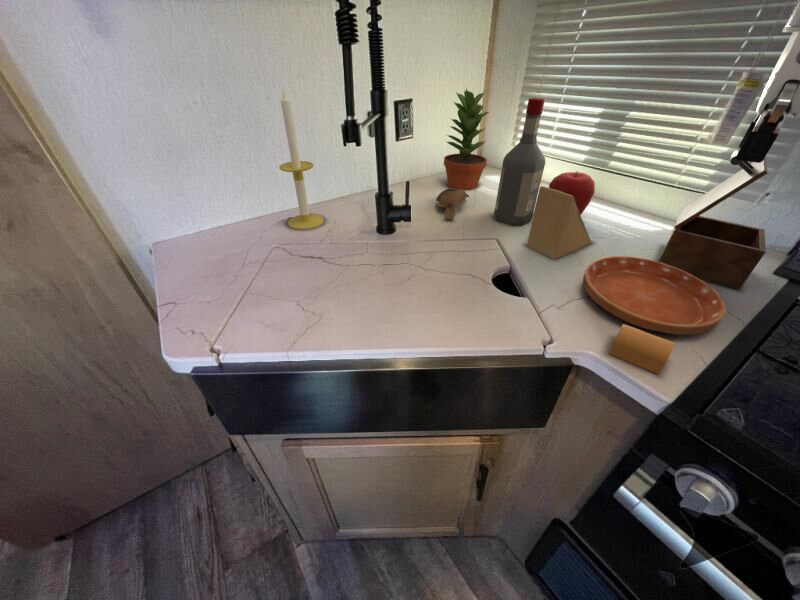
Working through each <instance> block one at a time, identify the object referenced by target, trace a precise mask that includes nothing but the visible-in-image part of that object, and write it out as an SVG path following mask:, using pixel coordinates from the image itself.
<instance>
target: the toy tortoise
mask: <svg viewBox="0 0 800 600" xmlns="http://www.w3.org/2000/svg"><path fill="white" fill-rule="evenodd" d="M467 198H470V195H469V194H467V192H466V190H463V189H455V188H452V187H449V188H446V189H443V190H442V191H441V192H440V193H439V194H438V195H437V197H436V199H435V201H436V202H437V203H436V206H438V207H440V208H445V211H444V220H446V221H453V220H454V218H455V216H456V207H458V206H461V205H465V204H466V203H467Z"/></svg>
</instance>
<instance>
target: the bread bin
mask: <svg viewBox="0 0 800 600" xmlns="http://www.w3.org/2000/svg"><path fill="white" fill-rule="evenodd" d="M766 247H767V246H766V231H765V228H759V227H755V226H750V225H745V224H739V223H735V222H730V221H726V220H721V219H715V218H712V217H707V216H701V215H700V216H698V217H696V218H695V219H693V220H691V221H690V222H688V223H687V224H685V225H683V226H682V227H680V228H679V229H675V228H674V227H673V230H672V231H671V233H670V235H669V237H668V239H667V241H666V243H665V245H664V246H663V249H662V252H661V253H660V256H659V259H658V261H657V262H661V263H664V264H667V265H670V266H673V267H676V268H678V269H681V270H683V271H685V272H687V273H690V274H692V275H693V276H695V277H697V278H699V279H700V280H702V281H704V282H709V283H711V284H715V285H719V286H722V287H726V288H729V289H733V290H736V291H740V289H741V288H742V287H743V285H744V284H745V282H746V281H747V280H748V279H749V277H750V275H752V273H753V271H754V270H755V269H756V267H757V265H758V264H759V263H760V261H761V260H762V258H763V257H764V256H765V254H766V253H767V249H766Z"/></svg>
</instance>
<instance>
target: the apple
mask: <svg viewBox="0 0 800 600" xmlns="http://www.w3.org/2000/svg"><path fill="white" fill-rule="evenodd" d="M595 185H596V184H595V180H594V179H593V178H592V177H591V175H589V174H588V173H585V172H580V171H578V170H576V171H568V172H562V173H559V174H558V175H557V176H555V177H553V179H552V180H551V181H550V182H549V184H548V188H551V189H555V190H558V191H561V192H564V193H566V194H569V195H572V196H573V197H574V200H575V203H576V206H577V208H578V211H579V214H580V216H581V215H582V214H583V213H584V211H585V210H586V209H587V208H588V206H589V205H590V203H591V201H592V199H593V196H594V194H595V193H596V191H595V190H596V186H595Z"/></svg>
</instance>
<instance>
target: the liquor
mask: <svg viewBox="0 0 800 600" xmlns="http://www.w3.org/2000/svg"><path fill="white" fill-rule="evenodd" d="M545 101H546V99H545V98H541V97H539V98H538V97H531V98H528V101H527V106H526V111H525V120H524V125H523V128H522V129H523V130H522V134H521V137H520V139H519V142H518V143H517V144H516V145H515V146H513V147H512V149H510V150H509V151H508V152H507V153H506V154H505V156H504V158H503V160H502V164H501V170H500V176H499V183H498V189H497V195H496V200H495V206H494V212H493V215H494V217H495V219H496V221H497V222H500V223H503V224H507V225H509V226H513V227H514V226H515V227H516V226H517V227H518V226H520V227H521V226H523V225H525V224H526V223H528V222H530V221H532V219H533V215H534V211H535V206H536V202H537V198H538V193H539V189H540V186H541V183H542V179H543V178H542V177H543V174H544V170H545V167H546V157H545V155H544V153H543V152H542V150H541V148H540V147H539V145H538V144H537V143H538V139H537V137H538V131H539V127H540V121H541V117H542V116H541V115H542V114H543V110H544V106H545Z"/></svg>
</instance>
